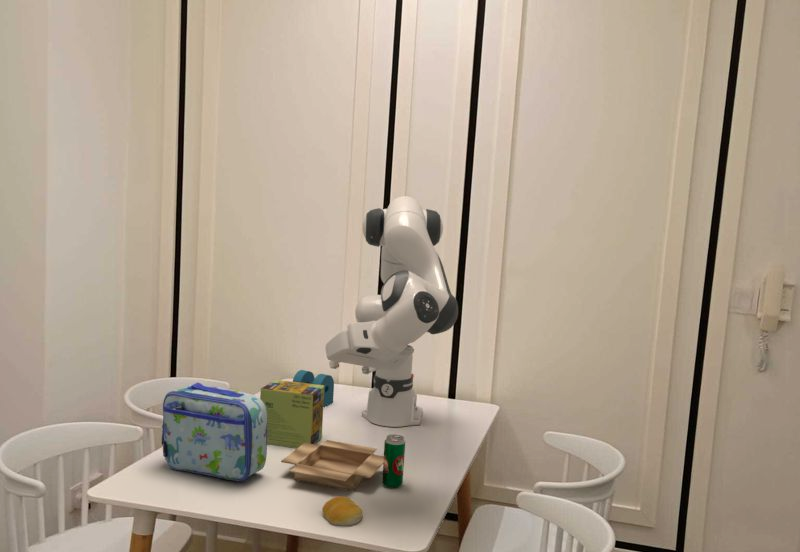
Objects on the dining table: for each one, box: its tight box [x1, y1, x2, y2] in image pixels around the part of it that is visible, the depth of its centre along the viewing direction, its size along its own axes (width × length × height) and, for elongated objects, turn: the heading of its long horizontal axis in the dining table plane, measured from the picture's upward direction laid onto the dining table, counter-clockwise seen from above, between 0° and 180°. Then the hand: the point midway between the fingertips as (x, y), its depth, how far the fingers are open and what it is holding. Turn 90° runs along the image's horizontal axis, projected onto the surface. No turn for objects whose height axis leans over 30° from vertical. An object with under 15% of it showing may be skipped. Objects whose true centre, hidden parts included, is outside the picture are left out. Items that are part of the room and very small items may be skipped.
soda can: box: [381, 434, 406, 489], centre depth 175 cm, size 5×5×12 cm
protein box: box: [259, 379, 324, 449], centre depth 201 cm, size 10×15×16 cm
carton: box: [280, 439, 384, 492], centre depth 179 cm, size 23×23×4 cm
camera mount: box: [292, 369, 335, 408], centre depth 232 cm, size 18×10×10 cm, turn 154°
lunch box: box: [161, 382, 268, 482], centre depth 176 cm, size 26×11×21 cm, turn 68°
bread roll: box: [321, 496, 363, 527], centre depth 157 cm, size 8×9×4 cm
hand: (348, 368), depth 171 cm, fingers open, 8 cm apart
